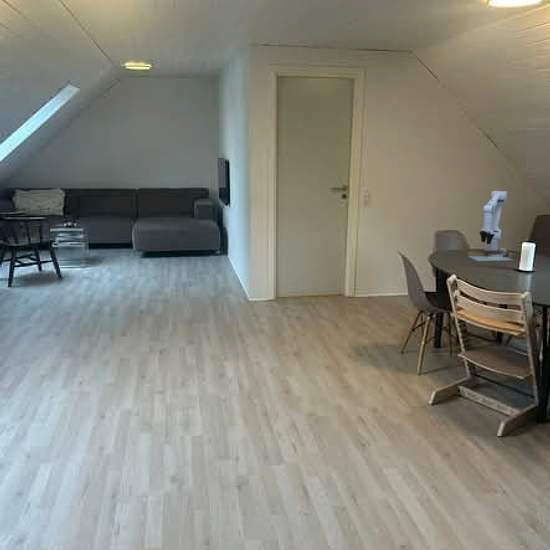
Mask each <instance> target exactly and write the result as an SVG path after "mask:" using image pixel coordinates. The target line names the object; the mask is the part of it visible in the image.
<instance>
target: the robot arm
mask: <svg viewBox="0 0 550 550" xmlns="http://www.w3.org/2000/svg"><path fill="white" fill-rule="evenodd" d="M490 194H491V195H490V199H489V201H487V203H486V204H485V205H484V206H483V210H482V211H483V222H482V223H483V224H482V227H481V228H480V231H478V232H479V235H480V239H481V243H484V248H483V249H484V250H483V251H485V250H499V249H498V248H499V242H501V240H502V230H501V228H499V226H500V220H501V215H502V210H503V207H504V205H506V203H507V200H508V192H507V191H506V190H505V191H503V190H492V191H491V193H490Z"/></svg>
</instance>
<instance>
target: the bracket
mask: <svg viewBox="0 0 550 550" xmlns="http://www.w3.org/2000/svg"><path fill="white" fill-rule="evenodd" d="M499 250H500V254H488V257H490V258H505V257H506V251H507V248H504V247H499Z"/></svg>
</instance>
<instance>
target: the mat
mask: <svg viewBox="0 0 550 550" xmlns="http://www.w3.org/2000/svg"><path fill="white" fill-rule="evenodd" d="M467 257H469V258H471V259H472V260H475V261H478V262H482V261H483V262H488V261H489V262H493V261H513V260H512V259H509V258H507V257H505V258H490V257H488V256H467Z"/></svg>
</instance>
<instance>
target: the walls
mask: <svg viewBox="0 0 550 550" xmlns="http://www.w3.org/2000/svg"><path fill="white" fill-rule="evenodd" d="M488 254H500V249H498V250H485V251H484V250H467V257H468V256H488ZM506 257H507V258H509V259H512V260H511V261H516V258H517V255H516V254H515V253H512V252H509V251H507V250H506Z"/></svg>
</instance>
